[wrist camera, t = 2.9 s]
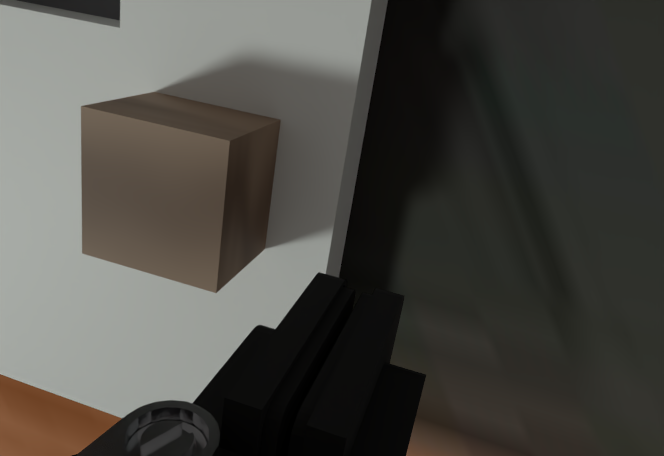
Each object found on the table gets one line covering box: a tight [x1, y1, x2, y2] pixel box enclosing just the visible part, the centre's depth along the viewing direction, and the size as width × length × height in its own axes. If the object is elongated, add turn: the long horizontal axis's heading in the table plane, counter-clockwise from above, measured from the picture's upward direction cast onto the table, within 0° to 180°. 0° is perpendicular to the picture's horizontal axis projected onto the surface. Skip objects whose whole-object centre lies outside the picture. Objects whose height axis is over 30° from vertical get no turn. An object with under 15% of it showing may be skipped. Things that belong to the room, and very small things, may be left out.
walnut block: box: [81, 92, 281, 293], centre depth 20 cm, size 5×5×4 cm
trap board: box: [0, 0, 388, 418], centre depth 24 cm, size 26×30×4 cm
